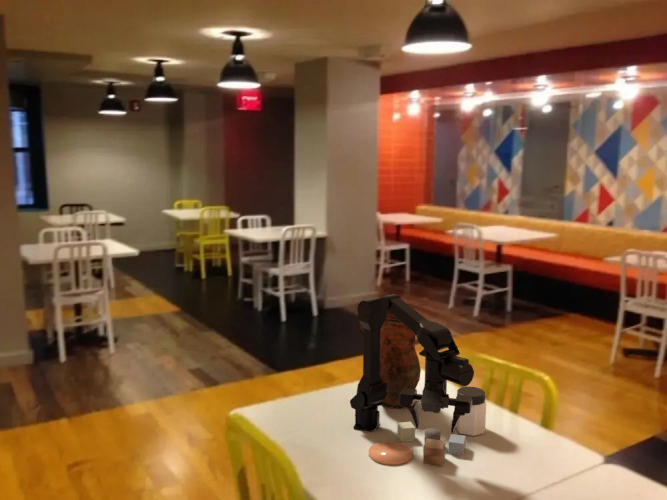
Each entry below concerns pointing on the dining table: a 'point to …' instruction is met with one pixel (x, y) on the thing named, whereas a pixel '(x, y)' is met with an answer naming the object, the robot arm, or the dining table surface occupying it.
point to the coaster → (390, 453)
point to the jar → (473, 412)
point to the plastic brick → (457, 444)
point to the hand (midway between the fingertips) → (434, 430)
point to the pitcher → (397, 359)
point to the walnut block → (434, 452)
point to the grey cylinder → (432, 434)
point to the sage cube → (406, 431)
